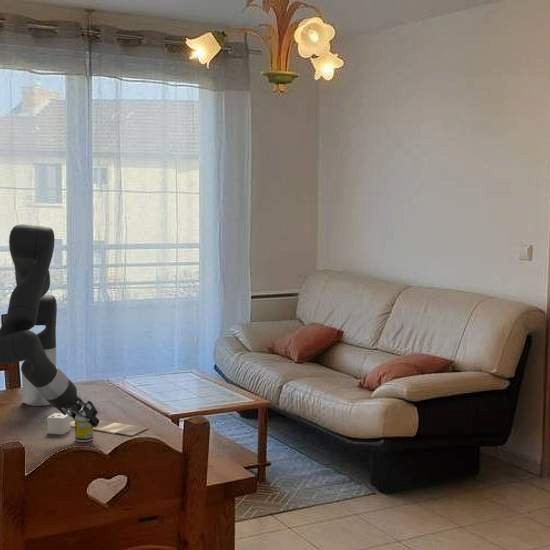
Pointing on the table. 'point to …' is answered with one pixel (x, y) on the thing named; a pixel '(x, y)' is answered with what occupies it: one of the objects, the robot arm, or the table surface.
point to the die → (58, 423)
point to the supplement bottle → (83, 429)
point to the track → (116, 428)
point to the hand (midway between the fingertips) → (89, 422)
